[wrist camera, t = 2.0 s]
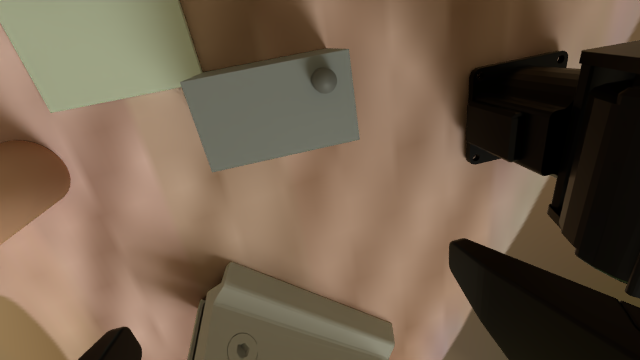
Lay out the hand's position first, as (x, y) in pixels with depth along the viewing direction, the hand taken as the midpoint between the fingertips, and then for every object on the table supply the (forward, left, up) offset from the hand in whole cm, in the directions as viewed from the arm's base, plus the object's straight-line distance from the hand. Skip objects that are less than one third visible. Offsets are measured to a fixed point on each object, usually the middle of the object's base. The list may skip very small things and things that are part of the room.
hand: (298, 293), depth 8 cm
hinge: (+2, +15, -12) cm, 20 cm away
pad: (+7, -9, -12) cm, 17 cm away
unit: (-1, -4, -12) cm, 13 cm away
